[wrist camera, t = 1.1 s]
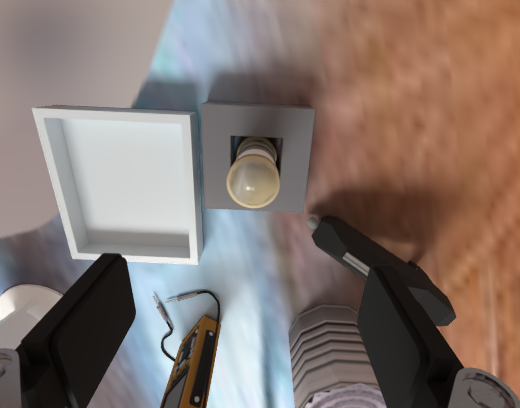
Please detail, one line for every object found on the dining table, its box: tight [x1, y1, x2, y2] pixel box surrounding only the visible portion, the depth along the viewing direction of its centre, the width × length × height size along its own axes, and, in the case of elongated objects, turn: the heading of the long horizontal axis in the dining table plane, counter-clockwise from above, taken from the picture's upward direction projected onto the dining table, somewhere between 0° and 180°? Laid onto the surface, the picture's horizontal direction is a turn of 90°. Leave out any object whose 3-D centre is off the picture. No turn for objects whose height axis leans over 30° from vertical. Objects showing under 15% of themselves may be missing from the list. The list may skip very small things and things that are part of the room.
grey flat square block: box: [201, 101, 315, 213], centre depth 28 cm, size 10×10×3 cm
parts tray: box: [32, 105, 203, 265], centre depth 30 cm, size 16×14×3 cm
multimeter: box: [153, 291, 221, 408], centre depth 30 cm, size 15×10×20 cm
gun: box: [307, 216, 456, 326], centre depth 31 cm, size 3×16×10 cm, turn 63°
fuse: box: [227, 136, 280, 208], centre depth 25 cm, size 4×4×9 cm
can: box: [289, 304, 387, 408], centre depth 34 cm, size 11×11×12 cm
